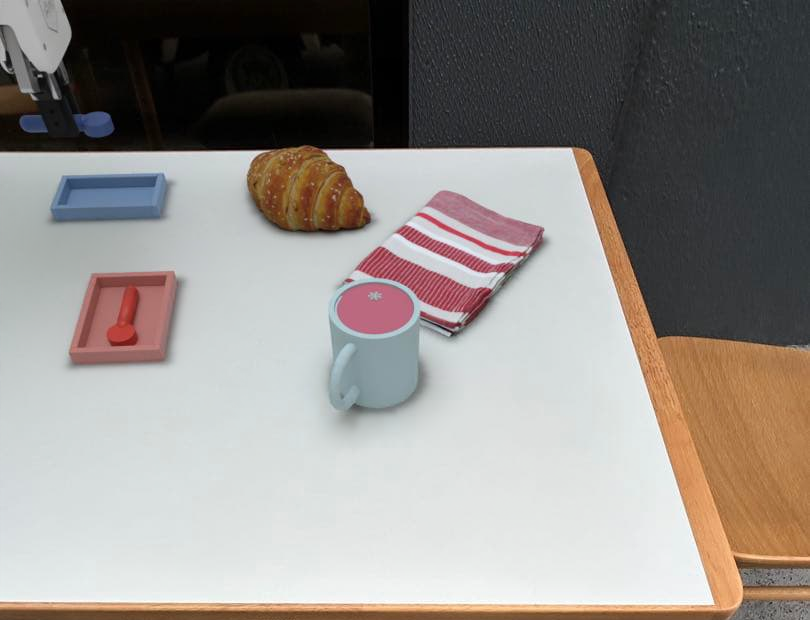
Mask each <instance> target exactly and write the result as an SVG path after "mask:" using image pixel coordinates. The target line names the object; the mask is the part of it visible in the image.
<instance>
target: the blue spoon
mask: <svg viewBox="0 0 810 620" xmlns="http://www.w3.org/2000/svg"><path fill="white" fill-rule="evenodd" d="M73 116H74V119H75V121H76V124H77V127H78V129H79V132H84V134H85V135H86V136H88V137H90V138H104V137H106V136H109V135H110V134H112V133H113V132H114V131H115V127H114V123H113V121H112V118H111V115H110V114H109V113H107V112H104V111H93V112H89V113H86V114H82V113H81V114H73ZM19 126H20V127H21V129H22V130H23V131H25V132H27V133H48V131H47V129H46V126H45V124H44V121H43V119H42V117H41V114H35V115H34V114H26V115H25V114H24V115H22V116H21V117H20V119H19Z"/></svg>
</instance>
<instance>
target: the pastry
mask: <svg viewBox="0 0 810 620" xmlns="http://www.w3.org/2000/svg"><path fill="white" fill-rule="evenodd" d="M246 182H247V183H246V185H247V188H248V192H249V193H250V195H251V197H252V198H253V201H254V204H255V205H256V206H255V207H257V208H258V209H259V210H260V211H262V212H263V214H264V216H265V217H266V219H268V220H269V221H270V222H271V223H273V224H277V226H278V227H280V228H281V229H284V230H286V231H289V232H296V231H299V230H302V231H306V232H317V231H319V229H322V230H325V231H332V232H333V231H337V230H339V229H341V228H345V229H355V228H361V227H363V226H365V225H366V224H368V223H369V222H370V221H371V214H370V212H369V210H368V208H367V207H366V206H365V200H364V196H363V195H362V193H361V192H360V191H359V190H357V189H356V188H355V187H354V184H353V181H352V179H351V178H350V176H349V175H348V172H347V171H346V168H345V167H344V166H343V165H342V164H338V163H337V162H335V161H334V160H332V159H331V158H330V157H329V155H328V153H327V152H326V151H324V150H323V149H321V148H318V147H315V146H311V145H305V144H304V145H301V146H299V147H283V148H281V149H273V150H272V149H270V150H269V151H263V152H262V153H259V154H257V155H256V156H255V157H253V159H252V161H251V163H250V165H249V169H248V171H247V173H246Z"/></svg>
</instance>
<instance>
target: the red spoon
mask: <svg viewBox="0 0 810 620" xmlns="http://www.w3.org/2000/svg"><path fill="white" fill-rule="evenodd" d="M138 296H139V291H138V289H137V288H136V287H134V286H128V287H126V289H125V291H124V296H123V300H122V304H121V308H120V312H119V316H118V320H117V324H115V325H113V326H112V327H110V328H109V329H108V331H107V333H106V336H107V338H108V340H109V342H110V345H111V346H134V345H135V344H136V343H137V341H138V335H137V333H136V331H135V328H134V327H133V326H132V322H133V318H134V314H135V309H136V305H137V300H138Z"/></svg>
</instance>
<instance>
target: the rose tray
mask: <svg viewBox="0 0 810 620" xmlns="http://www.w3.org/2000/svg"><path fill="white" fill-rule="evenodd" d="M178 284H179V282H178V279H177V276H176V274H175V271H174V270H158V271H155V270H154V271H128V272H127V271H126V272H125V271H124V272H99V273H98V272H97V273H94V272H93V273H91V274H90V277H89V281H88V284H87V288H86V291H85V293H84V294H85V295H84V298H83V301H82V305H81V308H80V312H79V316H78V318H77V323H76V326H75V329H74V333H73V335H72V339H71V343H70V346H69V350H68V355H69V356H70V358H71V360H72V362H73V364H74V365H94V364H119V363H120V364H122V363H123V364H124V363H148V362H164V361H165V356H166V351H167V346H168V340H169V334H170V330H171V329H170V328H171V322H172V317H173V312H174V305H175V300H176V296H177V290H178ZM128 286H134V287H136V288H137V289H138V291H139V296H138V300H137V305H136V309H135V314H134V318H133V322H132V326H133V327H134V328H135V331H136V333H137V335H138V341H137V343H136V344H135V345H134V346H111V345H110V342H109V340H108V338H107V336H106V333H107V331H108V329H109V328H110V327H112V326H113V325H115V324H117V320H118V316H119V312H120V308H121V304H122V300H123V296H124V291H125V289H126V287H128Z"/></svg>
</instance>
